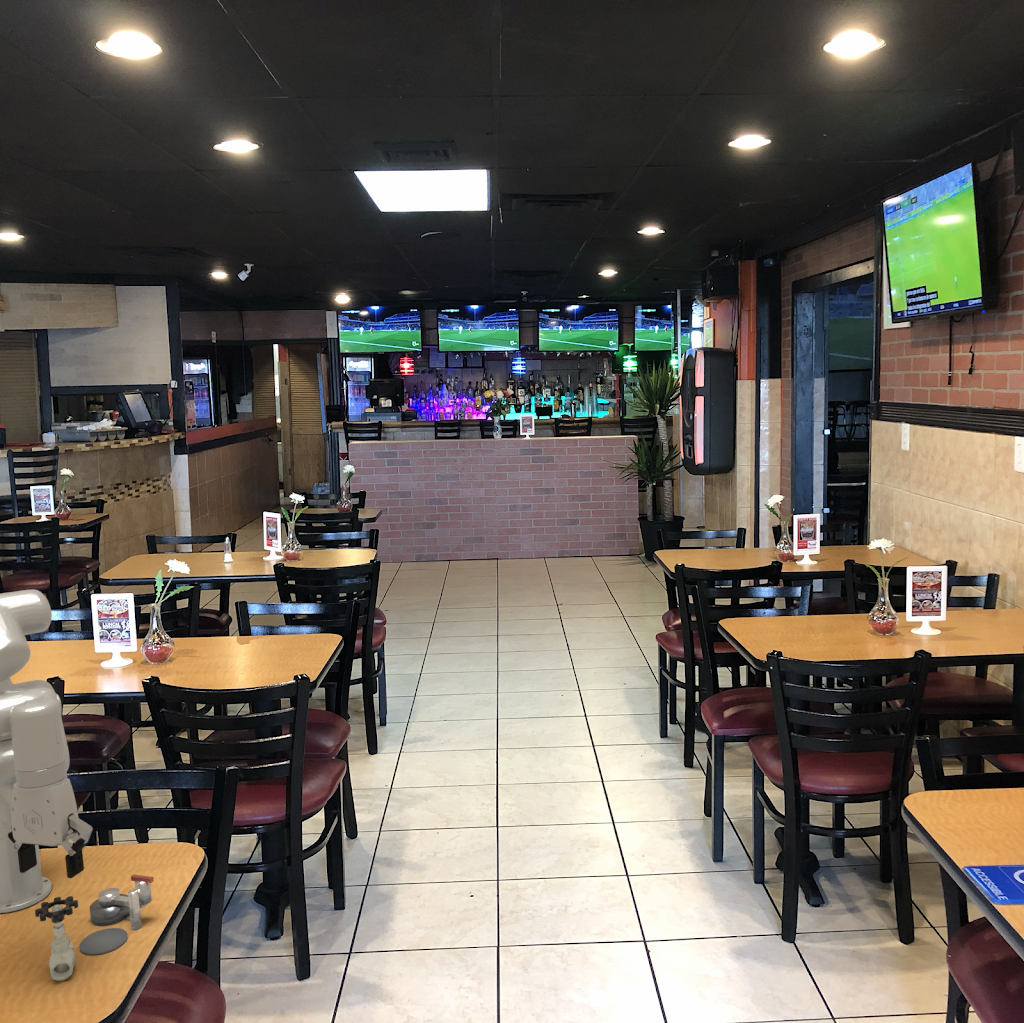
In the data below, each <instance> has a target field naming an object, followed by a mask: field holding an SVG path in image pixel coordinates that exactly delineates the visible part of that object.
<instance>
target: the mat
mask: <svg viewBox="0 0 1024 1023" xmlns="http://www.w3.org/2000/svg"><path fill="white" fill-rule="evenodd" d="M128 939H129V935H128V932H127V931H126V930H125V929H123V928H120V927H109V928H103V929H101V930H98V931H95V932H93V933H90V934H89V935H87V936H86V937H84V938H83V939H82V940H81V942H80V943H79V945H78V946H79V947H78V950H79V952H81V954H83V955H86V956H101V955H104V954H108V953H111V952H113V951H116V950H117V949H119V948H120V947H122V946H123V945H124V944H125V943H126V942H127V941H128Z"/></svg>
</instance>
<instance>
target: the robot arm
mask: <svg viewBox="0 0 1024 1023" xmlns="http://www.w3.org/2000/svg"><path fill="white" fill-rule="evenodd" d="M52 617H53V616H52V608H51V605H50V603H49V600H48V598H47V597H46V596H45V595H44V594H43V593H42V591H40V590H38V589H25V590H24V589H23V590H18V591H17V590H15V591H11V592H10V591H9V592H3V593H0V914H4V913H5V914H6V913H12V912H15V911H21V910H23V909H26V908H29V907H31V906H34V905H35V904H37V903H39V902H41V901H42V900H43V899H45V898H46V897H47V896H48V895H49V894H50V893H51V891H52V889H53V887H52V886H53V885H52V881H51V879H49V878H47V877H45V876H43V875H42V865H41V857H40V856H41V855H40V847H39V846H43V847H44V846H45V847H47V846H48V847H58V846H60V845H61V846H62V847H63V849H64V851H65V852H66V853H67V854H66V855H65V858H64V860H65V868H66V870H65V871H66V877H67V878H68V879H73V878H74V877H77V875H79V874H81V873H82V872H83V871H84V870H85V866H84V865H85V864H84V858H83V857H84V855H83V849H85V848H86V845H87V844H88V843H89V842H90V838H91V834H92V832H93V829H94V828H93V826H92V825H90V824H88V823H87V822H85V821H84V820H83V819H80V817H79V813H78V806H77V802H76V797H75V793H74V789H73V786H72V783H71V780H70V778H68V773H67V772H68V770H69V768H70V763H71V762H70V751H69V746H68V741H67V737H66V733H65V728H64V723H63V718H62V700H61V698H60V696H59V694H57V693H56V691H55V689H54V687H53V686H52V684H50V682H48V681H46V680H43V679H33V680H28V681H24V682H23V681H22V682H19V683H13V681H12V678H11V677H12V676H14V675H16V674H18V673H19V672H20V671H21V670H22V669H24V667H25V666H26V665H27V663H28V662H29V660H30V658H31V648H30V645H29V643H28V641H27V637H26V636H28V635H33V634H39V633H42V632H45V631H46V630H48V629H49V628H50V625H51V624H52ZM70 840H71V841H72V842H73V844H72V843H71V842H70Z"/></svg>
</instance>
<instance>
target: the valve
mask: <svg viewBox="0 0 1024 1023" xmlns="http://www.w3.org/2000/svg"><path fill="white" fill-rule="evenodd" d="M63 906H65V907H63ZM73 907H74V909H77V908H79V901H78V900H76V899H75V900H74V896H72V895H70V896H67V897H66V898H64V899H62V897H61V896H56V897H54V899H53V901H51V902H49V901H43V902H42V903H41V904H40V907H39V908H36V909H35V910H34V915H35V916H34V917H36V918H39V921H40V922H46V921H47V919H50V920H51V923H53V924H55V925H53V927H52V931H53V936H54V938H53V939H52V940H51V941H50V950H51V955H50V956H49V959H48V968H49V972H50V978H51V979H52V980H54V981H59V982H64V981H65V980H67V979H69V977H70V976H71V975H73V974H74V966H75V965H76V961H77V956H76V953H75V950H74V949H75V947H74V943H73V942H71V938H70V936H69V935H66V934H65V933H66V927H65V923H63V921H64V920H65V916H72V915H73V914H74V910H73ZM49 909H51V911H50V910H49Z"/></svg>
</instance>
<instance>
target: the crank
mask: <svg viewBox="0 0 1024 1023" xmlns="http://www.w3.org/2000/svg"><path fill="white" fill-rule="evenodd" d="M130 881H132V882H134V887H135V888H134V889H138V892H139V903H140V909H143V908H145V907H146V906H147V905H148V904H150V903H151V902H152V901H153V899H152V898H153V897H152V888H151V884H152V883H153V882H154V876H150V875H149V876H148V875H141V874H140V875H139V874H132V875H131V876H130ZM120 894H121V893H120V889H119V888H118V887H110V888H109V887H108V888H105V889H103V890H101V891H100V892H99V893H98V899H99V905H100V906H102V907H108V906H112V905H121V906H128V907H129V900H128V897H126V896H120Z"/></svg>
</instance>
